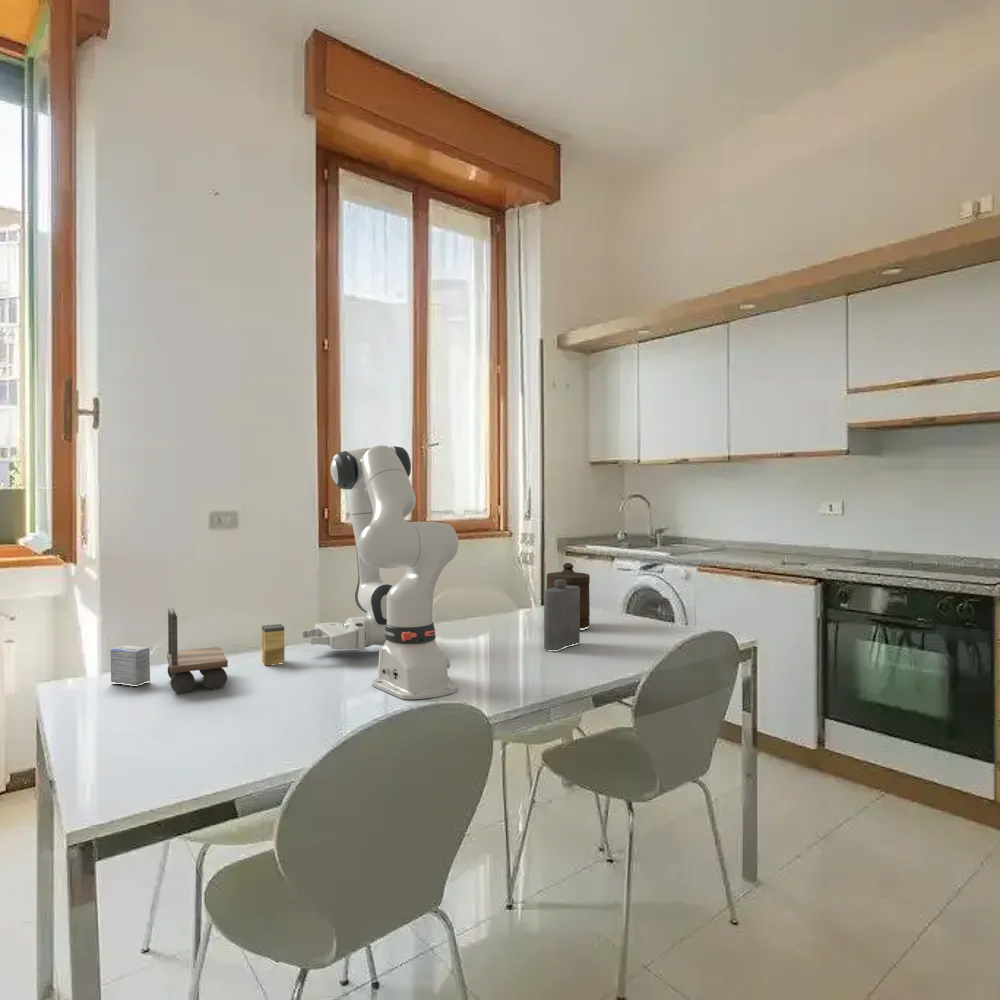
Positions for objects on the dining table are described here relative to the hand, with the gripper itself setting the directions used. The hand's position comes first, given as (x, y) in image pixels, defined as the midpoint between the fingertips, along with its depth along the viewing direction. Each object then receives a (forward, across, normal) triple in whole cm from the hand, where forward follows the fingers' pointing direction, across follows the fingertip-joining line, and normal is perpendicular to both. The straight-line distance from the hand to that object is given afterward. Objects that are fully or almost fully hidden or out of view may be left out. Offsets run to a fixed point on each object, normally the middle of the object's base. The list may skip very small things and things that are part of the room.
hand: (305, 637), depth 191 cm
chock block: (+9, 0, +6) cm, 11 cm away
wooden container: (-88, -2, +6) cm, 88 cm away
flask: (-70, +21, +6) cm, 74 cm away
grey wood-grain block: (+43, +4, +6) cm, 43 cm away
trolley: (+29, +12, +6) cm, 32 cm away
